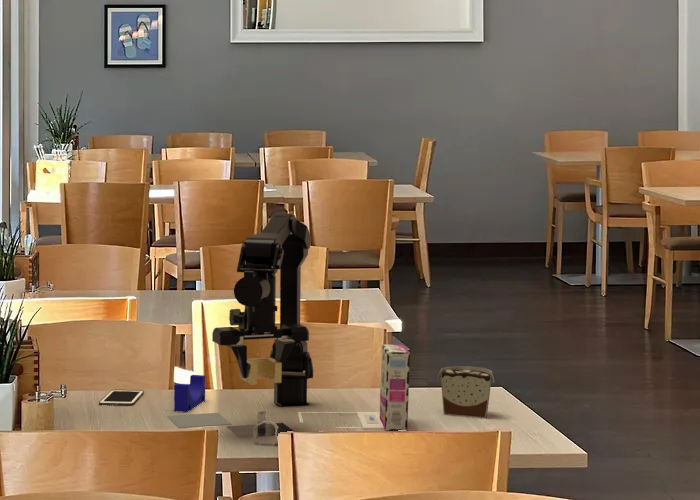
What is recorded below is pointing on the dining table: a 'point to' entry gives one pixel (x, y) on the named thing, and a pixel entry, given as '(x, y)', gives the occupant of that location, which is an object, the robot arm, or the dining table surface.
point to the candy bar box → (394, 387)
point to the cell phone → (121, 397)
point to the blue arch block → (189, 393)
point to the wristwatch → (277, 430)
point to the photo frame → (365, 418)
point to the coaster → (198, 420)
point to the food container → (465, 391)
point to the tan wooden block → (263, 370)
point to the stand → (258, 428)
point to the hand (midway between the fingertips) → (260, 376)
